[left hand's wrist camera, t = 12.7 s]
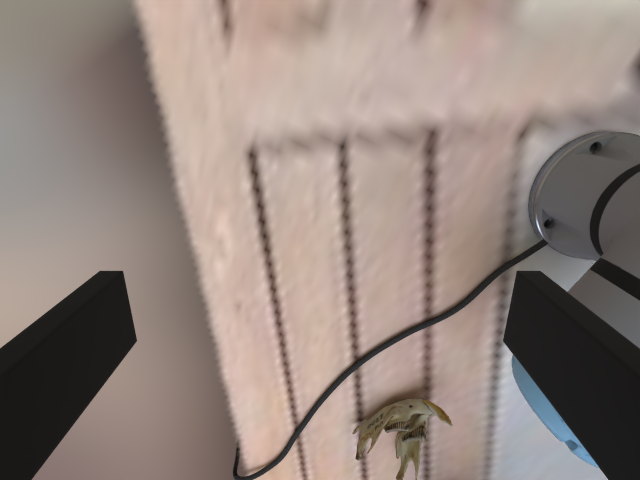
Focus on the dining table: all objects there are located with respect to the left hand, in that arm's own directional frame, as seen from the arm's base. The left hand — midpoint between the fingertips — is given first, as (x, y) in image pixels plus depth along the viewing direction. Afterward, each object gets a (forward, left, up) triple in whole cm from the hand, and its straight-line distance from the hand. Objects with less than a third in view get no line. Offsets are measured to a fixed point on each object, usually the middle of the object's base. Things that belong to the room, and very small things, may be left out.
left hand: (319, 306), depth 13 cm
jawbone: (-32, -25, -34) cm, 53 cm away
